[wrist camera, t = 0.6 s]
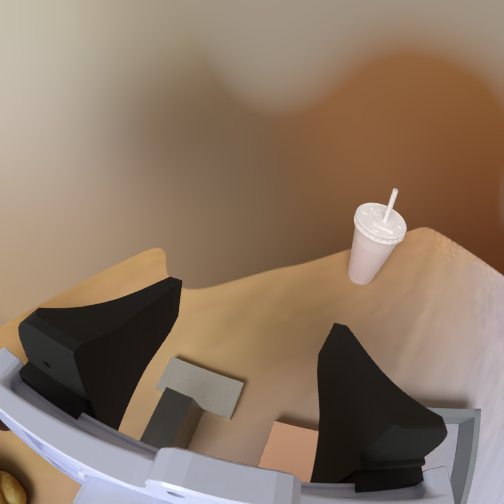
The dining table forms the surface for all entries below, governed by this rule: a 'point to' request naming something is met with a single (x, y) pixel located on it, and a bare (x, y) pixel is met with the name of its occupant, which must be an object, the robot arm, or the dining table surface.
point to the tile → (290, 450)
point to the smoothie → (374, 239)
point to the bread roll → (11, 490)
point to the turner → (188, 403)
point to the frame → (463, 448)
